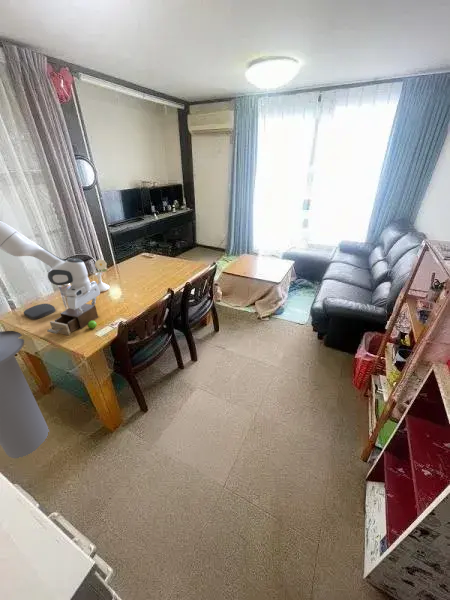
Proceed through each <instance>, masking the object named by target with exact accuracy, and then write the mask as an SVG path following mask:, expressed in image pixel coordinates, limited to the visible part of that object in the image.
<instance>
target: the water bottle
mask: <svg viewBox="0 0 450 600" xmlns="http://www.w3.org/2000/svg"><path fill="white" fill-rule="evenodd" d="M71 286H72V284H71V283H69V284H65V285H57V287H58V291H59V293H60V297H61V299H62V303H63V307H64V309H65V310H67V309H69V305H68V302H67V297H68V295H66V291H67V290H68V289H69V288H70V287H71ZM65 310H64V311H65Z"/></svg>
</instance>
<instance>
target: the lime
mask: <svg viewBox="0 0 450 600" xmlns="http://www.w3.org/2000/svg"><path fill="white" fill-rule="evenodd" d="M87 327H88V328H89V329H90V330H91V329H92V330H93V329H95V328H96V327H97V322H96V321H95V320H93V321H89V322H88V325H87Z"/></svg>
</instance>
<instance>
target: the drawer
mask: <svg viewBox="0 0 450 600" xmlns="http://www.w3.org/2000/svg"><path fill="white" fill-rule="evenodd" d="M49 324H50V327H51V328H50V329H47V330H46V332H47V333H52V334H56V335H57V334H61V335H66V336H70V335H71V333H72V332H74V331H75V330H77V329H78V327H79V324H78V320H77V318H75V317H70V316H65V315H62V316H61V315H60V316H59V317H58V318H55V319H54V321H53V320H50V321H49Z"/></svg>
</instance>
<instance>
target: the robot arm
mask: <svg viewBox="0 0 450 600" xmlns="http://www.w3.org/2000/svg"><path fill="white" fill-rule="evenodd" d="M0 250H1V251H3V252H5V253H7V254H9V255H10V256H13V257H32V258H35V259H37V260H39V261H40V262H42V263H44V264H46V265H47V266H49V267H50V268H51V269H50V270H49V271H48V273H47V279H48V281H49V282H50V283H51V284H52V285H54V286H58V285H65V284H69V283H70V284H71V287H70V288H69V289H68V290H67V291H66V295H68V297H67V302H68V305H69V308H71V309H75V310H76V309H78V310H79V312H80V313H83V312H84V310H83V309H81V306H82V305H84V304H88V303H89V302H90V301H91V304H90V305H95V306H96V305H97V303H96V301H97V297H98V296H100V295H101V292H100V290H99V288H98V286H97V284H98V282H97V281H94V280H92V281H91V280H90V278H89V276H88V275H89V273H88V268H87V266H86V263H85V262H84V261H83V260H82V259H80V258H77V257H72V258H68V259H64V258H61V257H59V256H57V255H55V254H53V253H52V252H50V251H49V250H48V249H46V248H44V247H43V246H41V245H39V244H38V243H36V242H34V241H33V240H31V239H30V238H28V237H27V236H26V235H24V234H23V233H21V232H19V231H18V230H17V229H15V228H14V227H12V226H11V225H9V224H7V223H6V222H4V221H2V220H0Z"/></svg>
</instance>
